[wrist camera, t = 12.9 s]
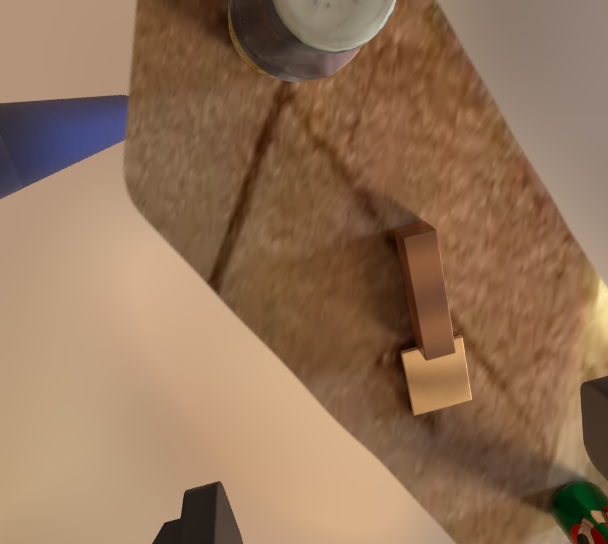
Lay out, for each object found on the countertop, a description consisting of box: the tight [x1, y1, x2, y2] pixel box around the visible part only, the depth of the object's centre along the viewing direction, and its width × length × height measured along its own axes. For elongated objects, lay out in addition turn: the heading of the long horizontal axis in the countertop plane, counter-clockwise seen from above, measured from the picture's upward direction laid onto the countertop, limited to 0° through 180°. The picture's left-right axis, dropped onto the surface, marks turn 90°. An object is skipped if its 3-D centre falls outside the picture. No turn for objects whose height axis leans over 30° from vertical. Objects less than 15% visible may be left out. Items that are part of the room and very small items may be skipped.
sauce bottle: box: [228, 0, 396, 82], centre depth 25 cm, size 7×6×20 cm
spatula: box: [394, 221, 472, 416], centre depth 41 cm, size 16×5×2 cm, turn 13°
